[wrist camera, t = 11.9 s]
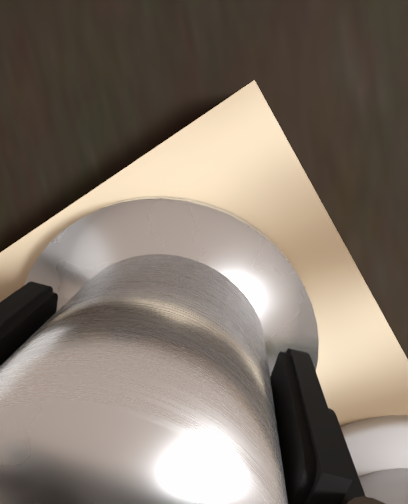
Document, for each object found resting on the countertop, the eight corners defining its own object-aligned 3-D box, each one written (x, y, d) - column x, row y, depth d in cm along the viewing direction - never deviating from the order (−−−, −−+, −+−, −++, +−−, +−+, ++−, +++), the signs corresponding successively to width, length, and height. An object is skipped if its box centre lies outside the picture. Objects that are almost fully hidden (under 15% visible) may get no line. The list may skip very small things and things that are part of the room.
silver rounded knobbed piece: (134, 127, 10) (-51, 105, 4) (379, 327, 11) (576, 587, 5) (-76, 431, 14) (-346, 684, 7) (122, 558, 15) (36, 873, 8)
